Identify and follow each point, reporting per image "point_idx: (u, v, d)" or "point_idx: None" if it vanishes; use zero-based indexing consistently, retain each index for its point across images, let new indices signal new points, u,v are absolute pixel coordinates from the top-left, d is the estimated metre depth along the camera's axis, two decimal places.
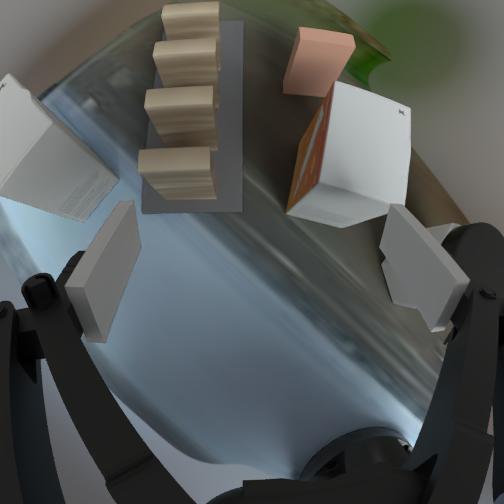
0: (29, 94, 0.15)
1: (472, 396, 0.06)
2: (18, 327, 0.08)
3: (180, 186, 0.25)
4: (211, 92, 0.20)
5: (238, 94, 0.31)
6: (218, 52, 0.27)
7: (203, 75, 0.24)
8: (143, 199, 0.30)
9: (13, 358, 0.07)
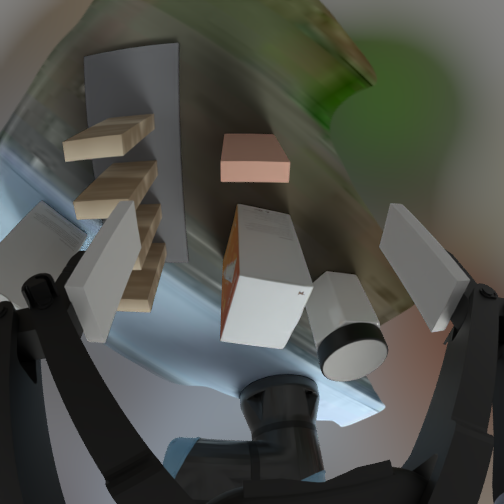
0: (7, 299, 0.21)
1: (472, 396, 0.06)
2: (18, 327, 0.08)
3: None
4: (138, 259, 0.25)
5: (175, 157, 0.31)
6: (143, 136, 0.26)
7: None
8: None
9: (13, 358, 0.07)
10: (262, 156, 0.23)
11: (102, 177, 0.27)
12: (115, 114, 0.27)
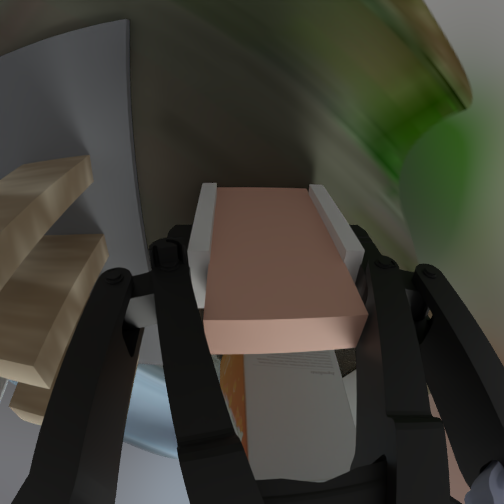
0: None
1: (402, 382, 0.07)
2: (131, 298, 0.10)
3: None
4: None
5: (133, 230, 0.18)
6: (62, 211, 0.13)
7: None
8: None
9: (117, 329, 0.08)
10: (302, 288, 0.10)
11: (14, 276, 0.14)
12: (31, 157, 0.14)
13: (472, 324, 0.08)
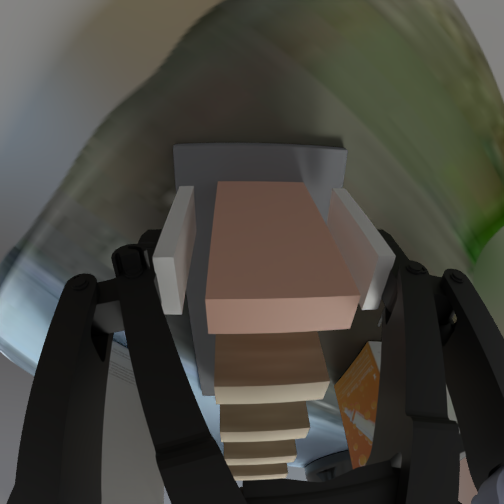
0: None
1: (423, 384, 0.06)
2: (97, 303, 0.09)
3: None
4: (294, 457, 0.18)
5: None
6: None
7: None
8: (202, 388, 0.30)
9: (86, 334, 0.08)
10: (298, 271, 0.11)
11: None
12: None
13: (493, 329, 0.08)
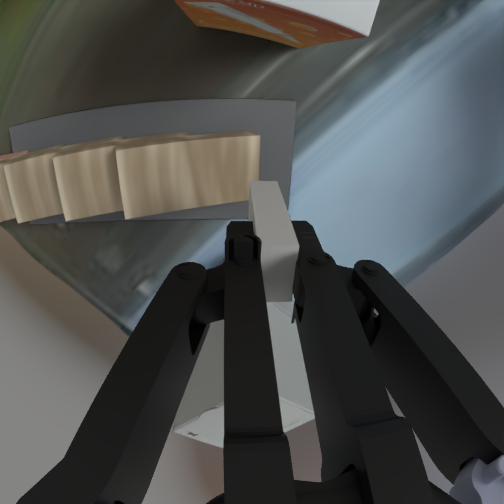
0: (209, 411, 0.17)
1: (357, 385, 0.07)
2: (202, 295, 0.10)
3: (186, 178, 0.21)
4: (56, 155, 0.18)
5: (124, 111, 0.21)
6: None
7: (44, 169, 0.19)
8: None
9: (185, 326, 0.08)
10: None
11: None
12: None
13: (425, 319, 0.08)
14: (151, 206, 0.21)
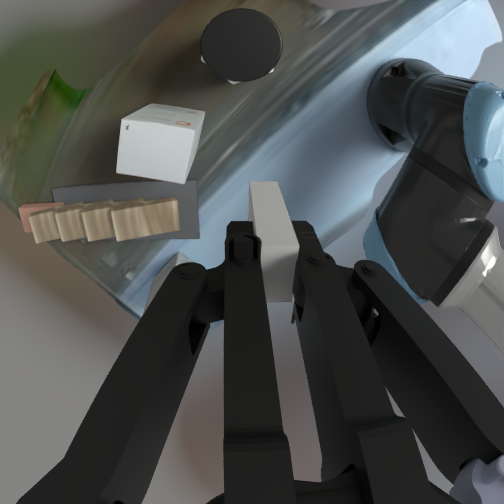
0: None
1: (357, 385, 0.07)
2: (202, 295, 0.10)
3: (144, 222, 0.45)
4: (82, 210, 0.42)
5: (114, 186, 0.45)
6: None
7: (76, 216, 0.43)
8: (190, 238, 0.50)
9: (184, 325, 0.08)
10: None
11: None
12: None
13: (425, 319, 0.08)
14: (128, 235, 0.45)
